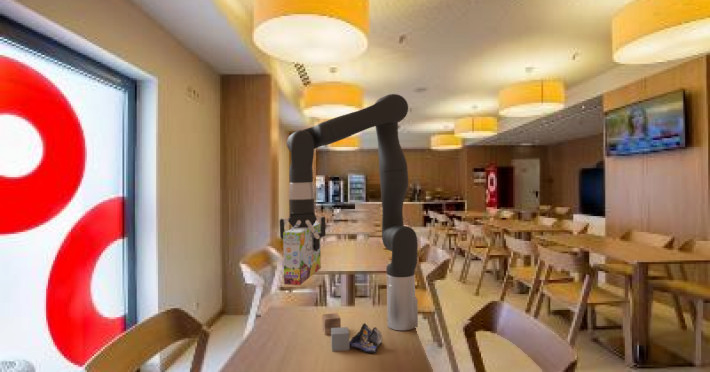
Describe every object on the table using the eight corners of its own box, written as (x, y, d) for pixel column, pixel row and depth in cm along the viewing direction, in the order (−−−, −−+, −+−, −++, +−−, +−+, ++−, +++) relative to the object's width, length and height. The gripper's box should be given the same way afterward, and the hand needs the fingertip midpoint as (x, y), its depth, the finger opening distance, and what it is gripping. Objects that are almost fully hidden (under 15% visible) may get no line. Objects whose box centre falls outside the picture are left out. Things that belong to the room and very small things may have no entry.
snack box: (302, 285, 121) (300, 231, 120) (283, 285, 122) (281, 232, 121) (322, 268, 142) (320, 222, 141) (305, 268, 143) (304, 222, 142)
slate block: (348, 343, 130) (347, 327, 129) (349, 350, 125) (349, 333, 124) (331, 344, 129) (331, 327, 129) (332, 351, 124) (331, 334, 124)
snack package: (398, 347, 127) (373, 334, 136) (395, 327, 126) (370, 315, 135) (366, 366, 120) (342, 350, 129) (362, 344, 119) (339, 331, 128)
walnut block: (337, 328, 142) (337, 313, 142) (340, 333, 137) (340, 318, 137) (322, 329, 141) (322, 314, 141) (325, 335, 136) (324, 319, 136)
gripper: (323, 195, 136) (324, 248, 137) (276, 197, 133) (278, 251, 133) (327, 197, 129) (328, 252, 129) (278, 199, 125) (280, 255, 126)
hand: (303, 251), depth 131 cm, fingers closed on snack box, 7 cm apart
